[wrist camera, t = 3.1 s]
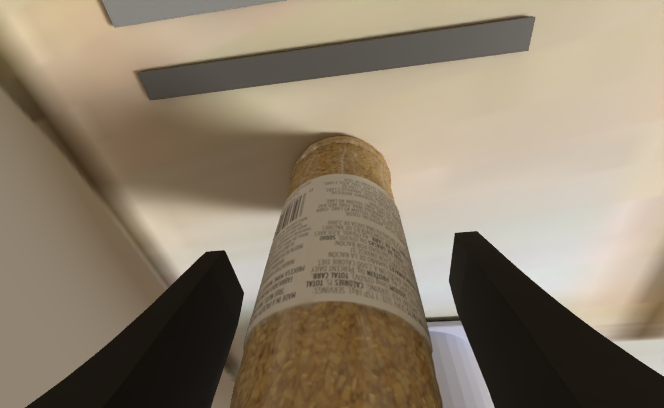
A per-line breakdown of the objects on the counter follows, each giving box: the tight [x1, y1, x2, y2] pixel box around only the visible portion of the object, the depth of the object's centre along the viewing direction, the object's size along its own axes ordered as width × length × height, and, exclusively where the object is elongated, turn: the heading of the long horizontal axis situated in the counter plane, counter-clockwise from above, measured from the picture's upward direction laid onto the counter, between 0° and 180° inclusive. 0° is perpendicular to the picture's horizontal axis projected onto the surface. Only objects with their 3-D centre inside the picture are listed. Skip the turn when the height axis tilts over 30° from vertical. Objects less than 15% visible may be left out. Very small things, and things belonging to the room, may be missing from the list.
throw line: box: [138, 16, 535, 100], centre depth 11 cm, size 1×14×1 cm, turn 97°
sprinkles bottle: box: [230, 136, 443, 408], centre depth 8 cm, size 5×5×14 cm
